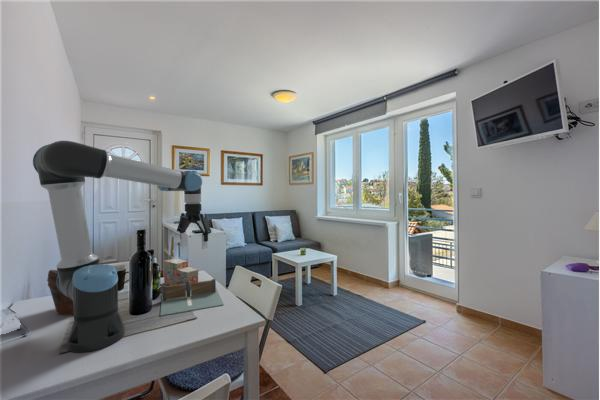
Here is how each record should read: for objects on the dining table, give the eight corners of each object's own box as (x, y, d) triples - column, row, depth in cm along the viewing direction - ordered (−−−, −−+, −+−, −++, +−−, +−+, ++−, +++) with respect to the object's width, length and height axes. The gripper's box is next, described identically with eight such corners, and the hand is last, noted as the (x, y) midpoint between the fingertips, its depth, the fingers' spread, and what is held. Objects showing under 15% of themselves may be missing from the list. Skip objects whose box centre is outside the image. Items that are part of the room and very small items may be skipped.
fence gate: (215, 291, 130) (215, 279, 130) (191, 295, 125) (191, 282, 125) (215, 291, 131) (215, 278, 131) (191, 294, 127) (191, 282, 126)
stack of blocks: (198, 287, 139) (198, 263, 138) (187, 291, 134) (186, 266, 133) (174, 280, 151) (174, 257, 151) (163, 283, 146) (163, 260, 145)
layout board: (223, 305, 117) (223, 304, 117) (160, 316, 106) (160, 315, 106) (215, 287, 138) (215, 286, 138) (162, 295, 128) (162, 294, 128)
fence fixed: (190, 297, 125) (190, 282, 125) (162, 301, 120) (162, 285, 120) (190, 296, 127) (190, 280, 126) (162, 300, 122) (162, 284, 122)
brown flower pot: (117, 299, 123) (115, 259, 123) (77, 320, 103) (74, 273, 103) (81, 298, 125) (79, 259, 124) (34, 319, 105) (32, 273, 105)
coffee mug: (101, 290, 135) (101, 270, 134) (119, 285, 142) (119, 266, 142) (116, 294, 130) (115, 273, 129) (134, 288, 137) (133, 268, 137)
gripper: (218, 203, 129) (219, 247, 130) (180, 202, 140) (182, 243, 141) (206, 203, 123) (207, 251, 123) (168, 203, 134) (169, 246, 134)
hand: (194, 247), depth 132 cm, fingers open, 13 cm apart
